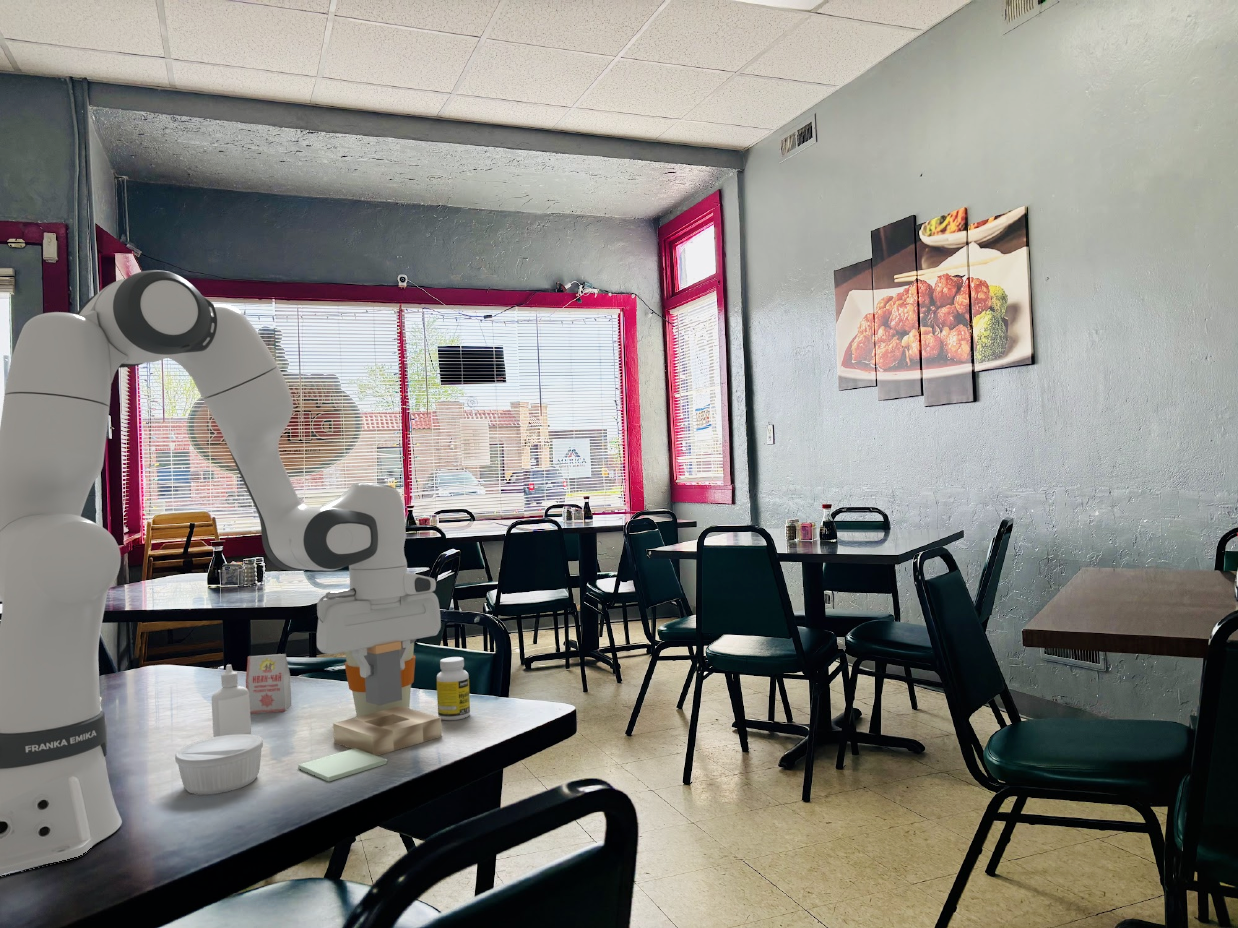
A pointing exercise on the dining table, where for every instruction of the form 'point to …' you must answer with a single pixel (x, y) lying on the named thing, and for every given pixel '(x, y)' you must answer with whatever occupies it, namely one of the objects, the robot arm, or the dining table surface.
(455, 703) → the supplement bottle
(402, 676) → the reusable coffee cup
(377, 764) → the coaster
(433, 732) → the socket block
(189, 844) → the dining table surface
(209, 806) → the dining table surface
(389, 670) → the plug
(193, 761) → the ramekin
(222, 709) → the eye dropper bottle
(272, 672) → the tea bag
